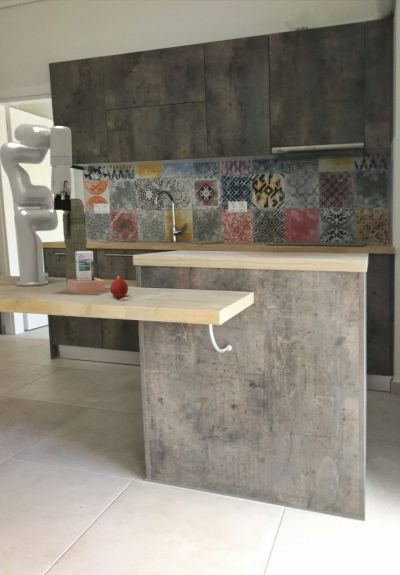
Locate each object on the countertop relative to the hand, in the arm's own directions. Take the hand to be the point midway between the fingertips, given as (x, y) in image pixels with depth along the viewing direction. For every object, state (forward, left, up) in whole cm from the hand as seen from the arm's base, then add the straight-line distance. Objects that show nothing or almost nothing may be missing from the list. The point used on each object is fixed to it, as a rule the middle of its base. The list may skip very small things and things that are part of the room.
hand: (62, 210), depth 194 cm
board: (+2, +9, -30) cm, 32 cm away
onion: (+11, +26, -31) cm, 42 cm away
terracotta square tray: (+2, +9, -29) cm, 31 cm away
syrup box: (+2, +9, -29) cm, 31 cm away
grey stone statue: (-16, -4, -31) cm, 35 cm away
